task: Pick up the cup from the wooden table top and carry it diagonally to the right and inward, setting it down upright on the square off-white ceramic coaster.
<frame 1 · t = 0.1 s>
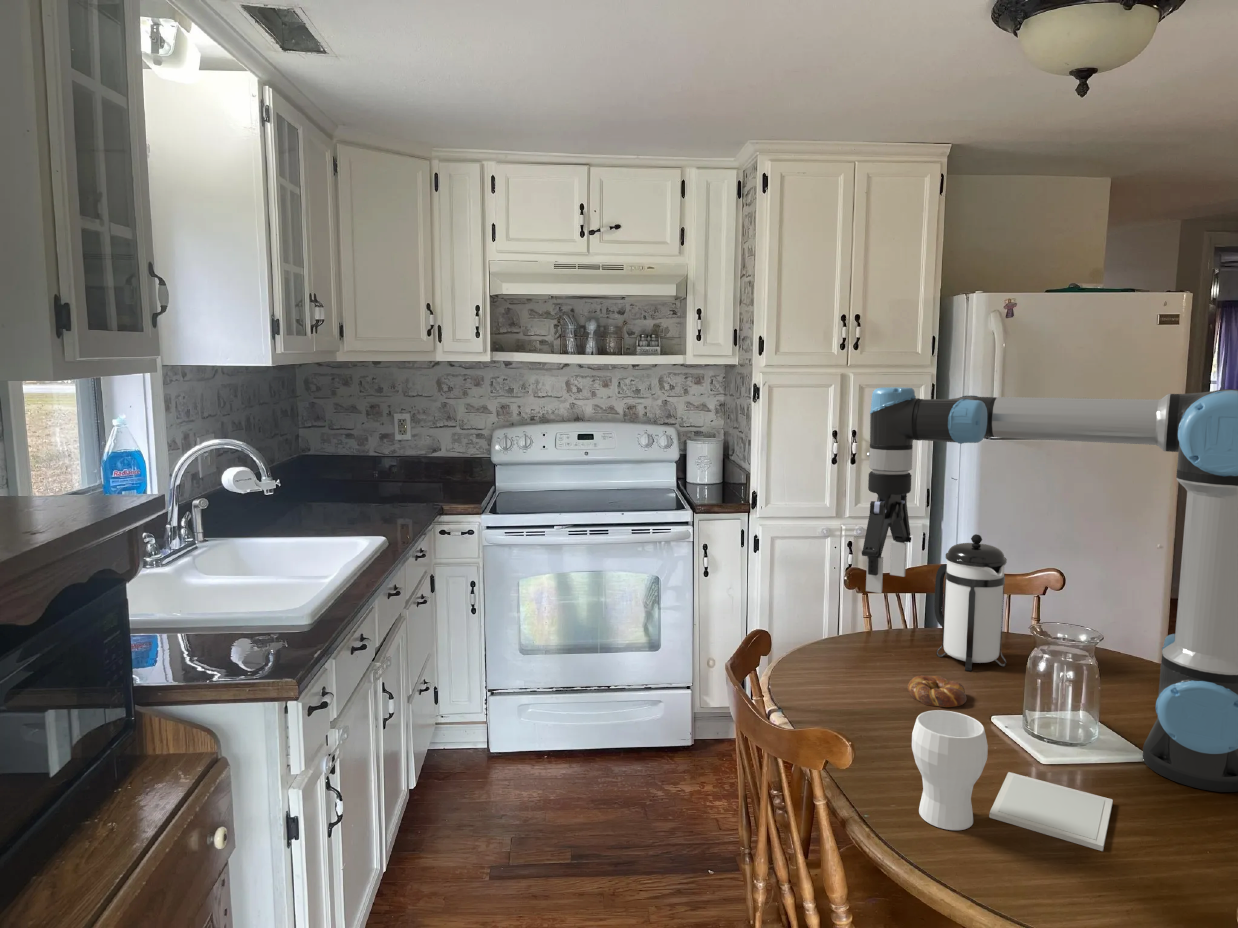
hand: (886, 583, 151), 28 cm above the table, tool pointing down, fingers open, 13 cm apart
coaster: (1051, 810, 125), on the table
brown braided bread ring: (935, 699, 167), on the table
coffee press: (965, 659, 188), on the table
cup: (945, 817, 124), on the table
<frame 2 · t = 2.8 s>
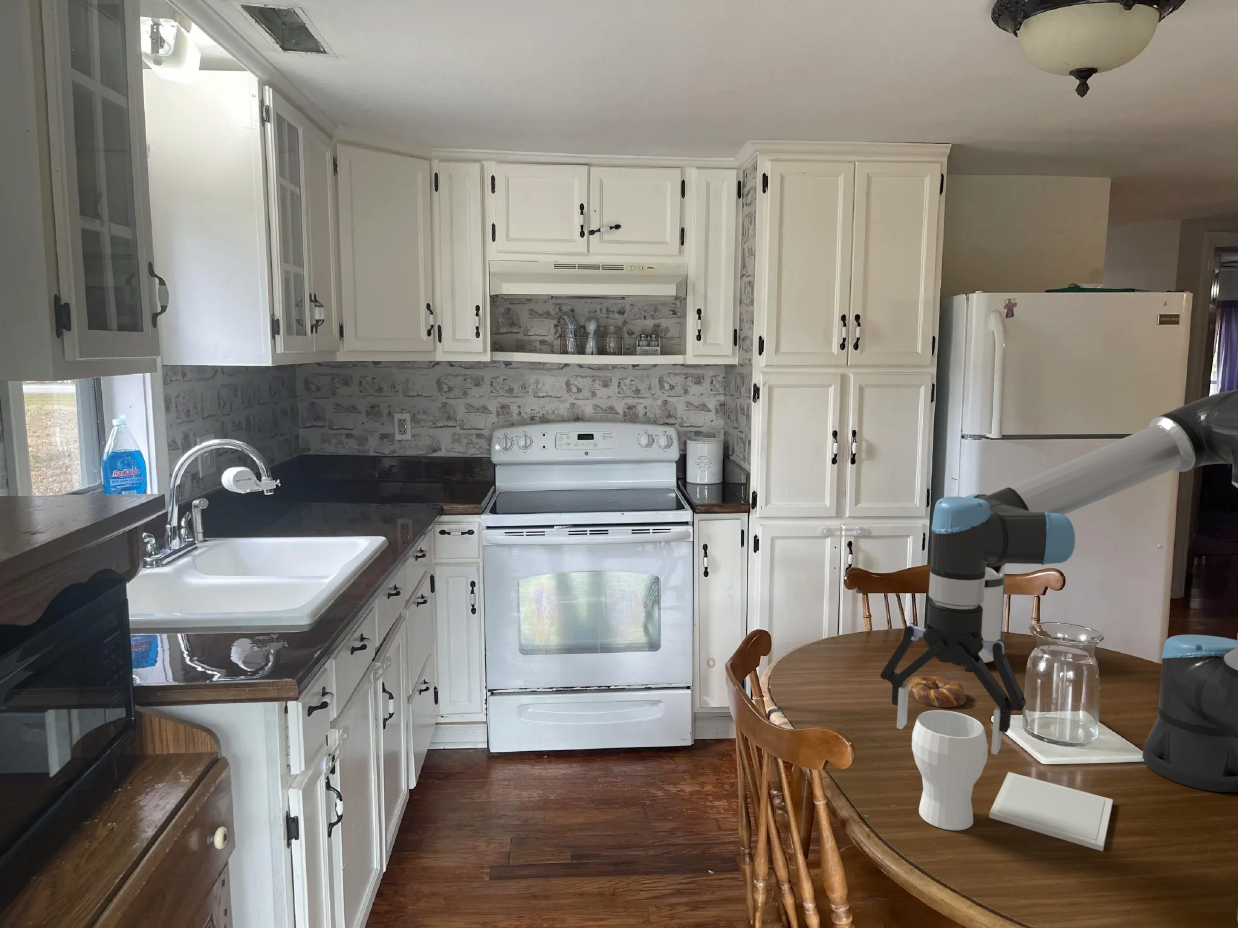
hand: (947, 737, 122), 13 cm above the table, tool pointing down, fingers open, 13 cm apart
nothing on the table moved.
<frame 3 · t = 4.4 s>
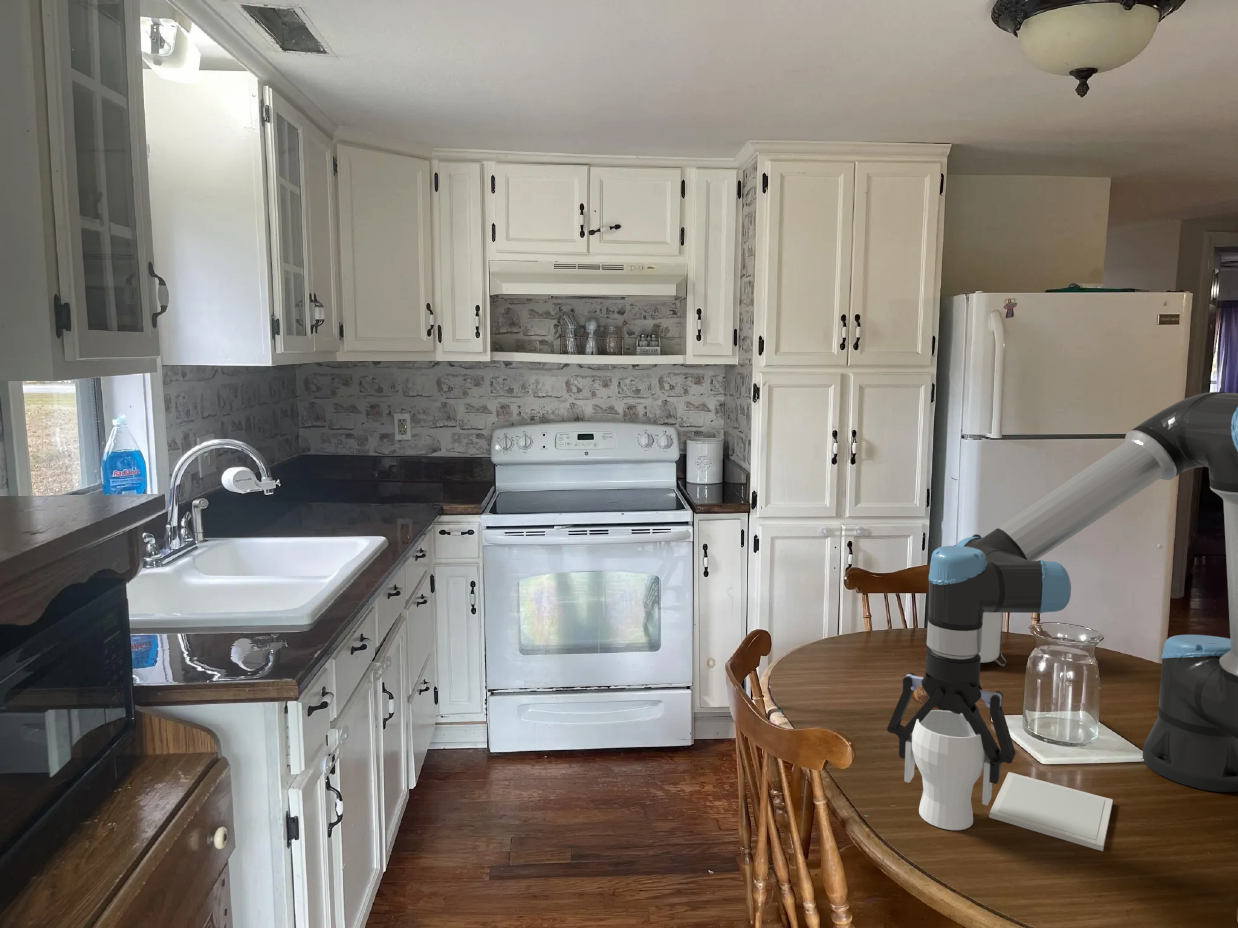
hand: (946, 789, 123), 4 cm above the table, tool pointing down, fingers closed on cup, 11 cm apart
cup: (945, 817, 124), on the table, touching gripper
everything else where it was.
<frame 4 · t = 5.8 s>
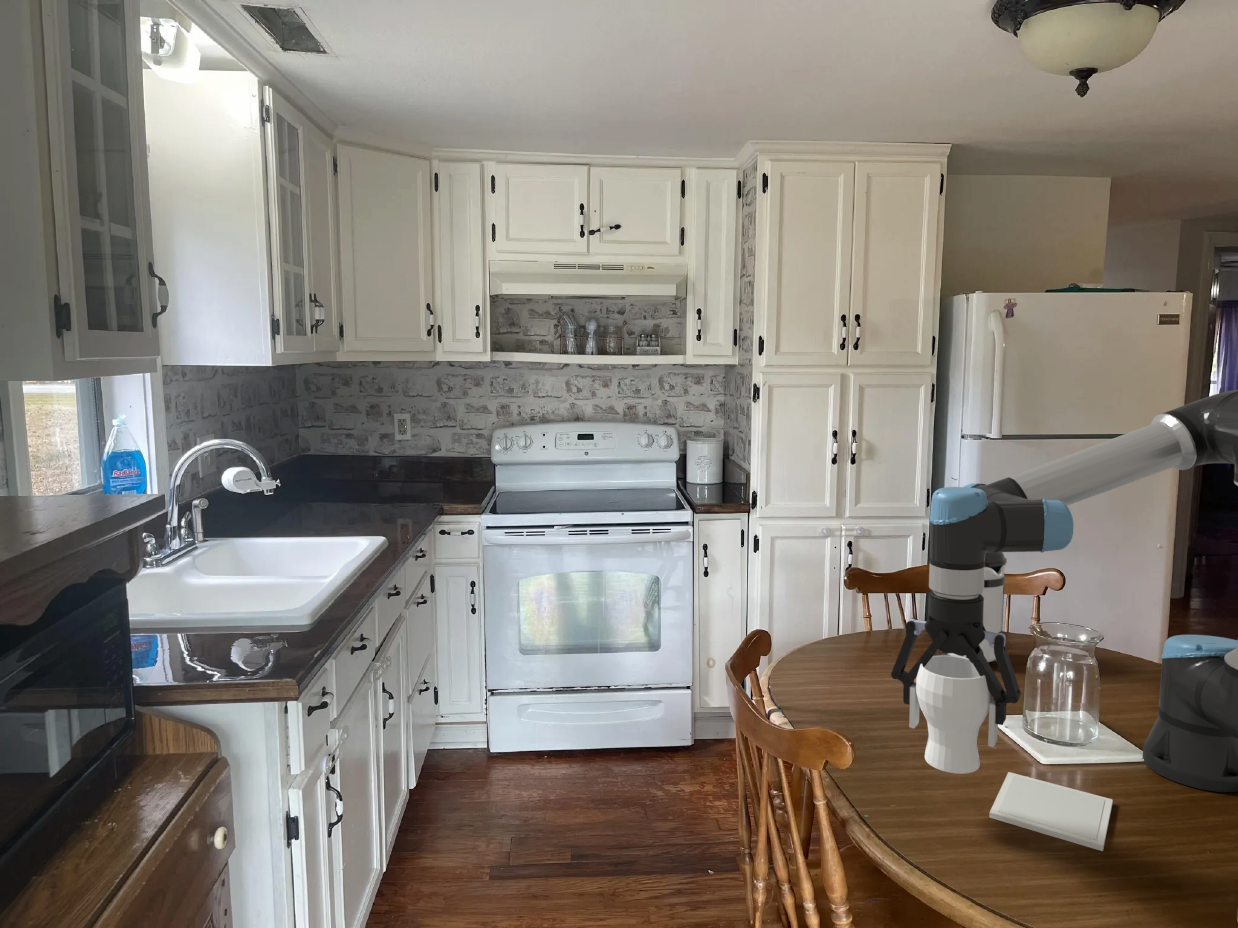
hand: (952, 733, 122), 13 cm above the table, tool pointing down, fingers closed on cup, 11 cm apart
cup: (951, 762, 122), point 9 cm above the table, touching gripper
everything else where it was.
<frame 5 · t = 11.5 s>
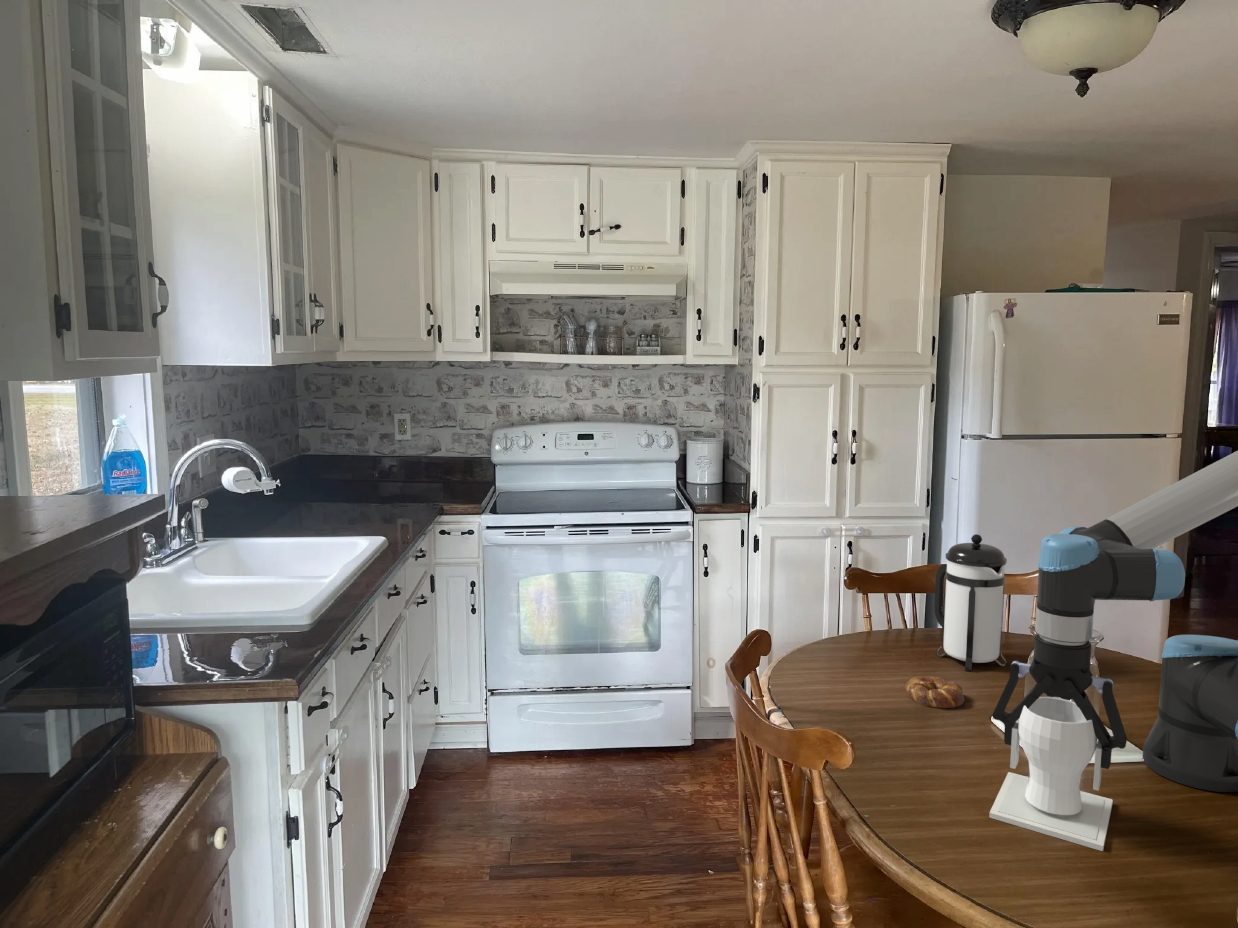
hand: (1054, 775, 124), 6 cm above the table, tool pointing down, fingers closed on cup, 11 cm apart
cup: (1052, 803, 125), point 1 cm above the table, touching gripper
everything else where it was.
when the fingers open (6 cm above the table, at t = 12.0 s): cup stays where it is, resting on coaster.
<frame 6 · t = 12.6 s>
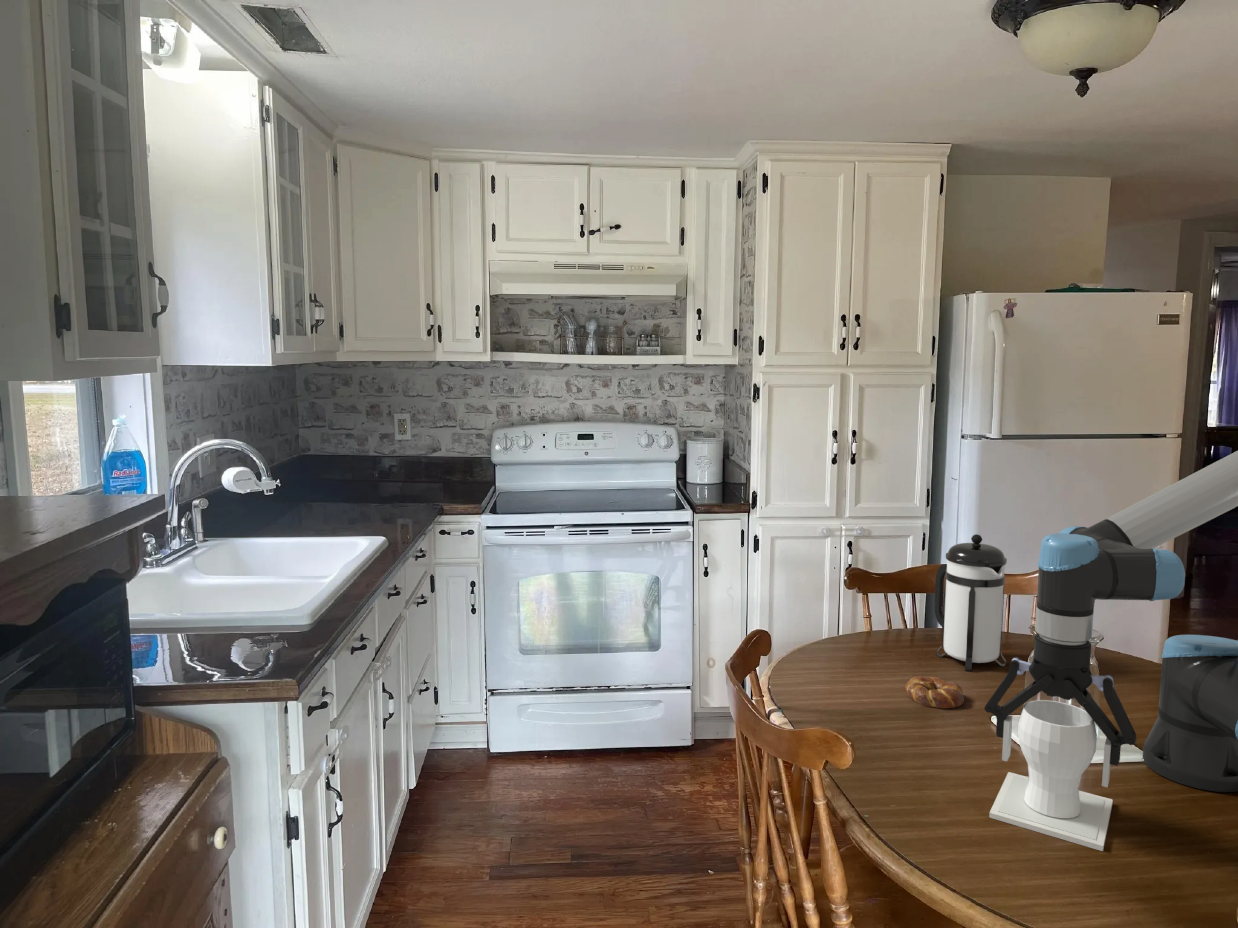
hand: (1054, 769, 124), 7 cm above the table, tool pointing down, fingers open, 13 cm apart
cup: (1051, 806, 125), point 1 cm above the table, touching coaster
everything else where it was.
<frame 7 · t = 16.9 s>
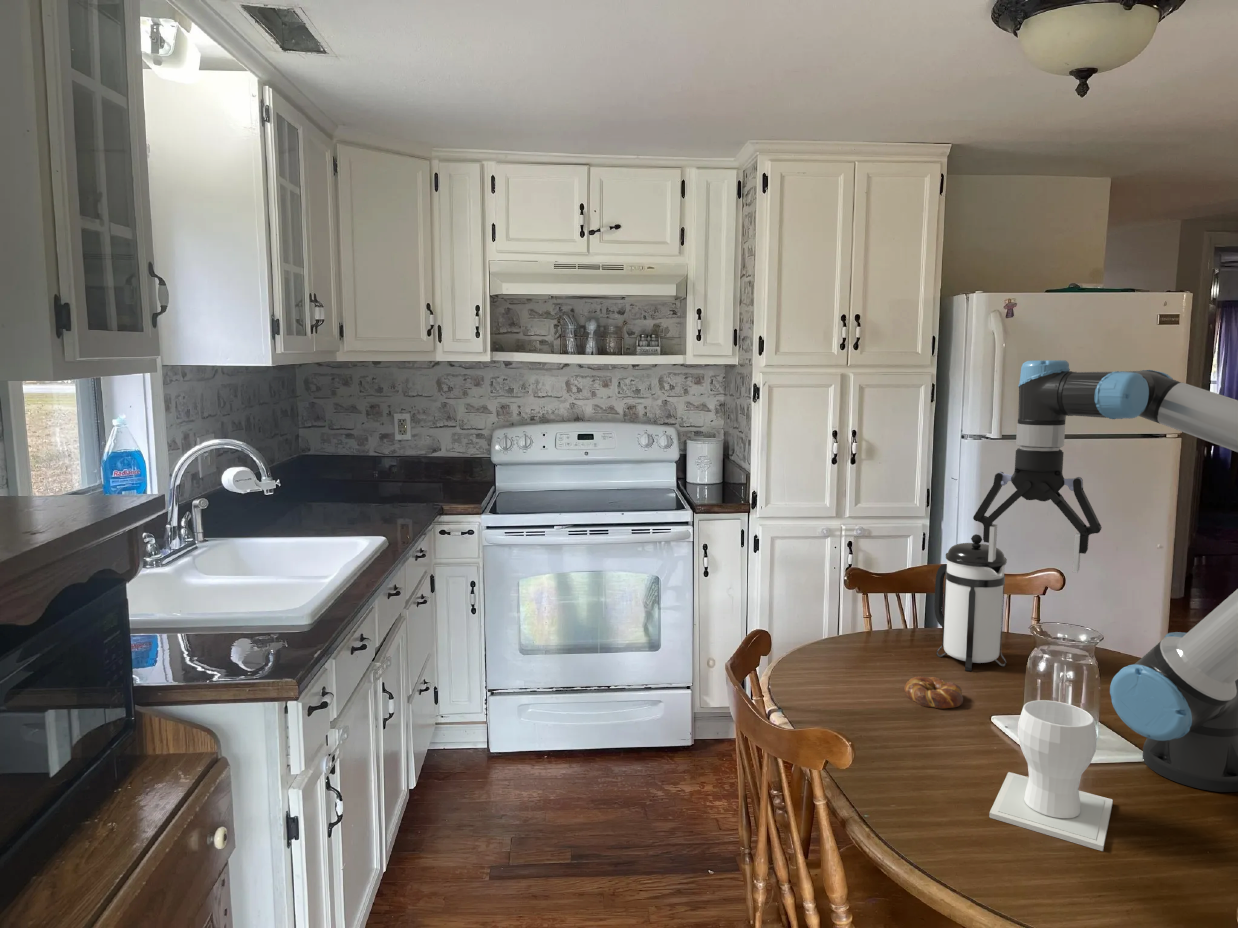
hand: (1032, 565, 145), 33 cm above the table, tool pointing down, fingers open, 13 cm apart
at the end: cup inside the target area on the coaster (0.0 cm from its centre), point 0.7 cm above the coaster's base; cup tilted 0°; the gripper is holding nothing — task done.
